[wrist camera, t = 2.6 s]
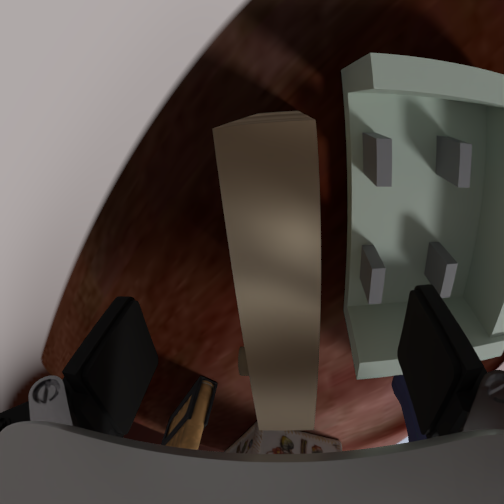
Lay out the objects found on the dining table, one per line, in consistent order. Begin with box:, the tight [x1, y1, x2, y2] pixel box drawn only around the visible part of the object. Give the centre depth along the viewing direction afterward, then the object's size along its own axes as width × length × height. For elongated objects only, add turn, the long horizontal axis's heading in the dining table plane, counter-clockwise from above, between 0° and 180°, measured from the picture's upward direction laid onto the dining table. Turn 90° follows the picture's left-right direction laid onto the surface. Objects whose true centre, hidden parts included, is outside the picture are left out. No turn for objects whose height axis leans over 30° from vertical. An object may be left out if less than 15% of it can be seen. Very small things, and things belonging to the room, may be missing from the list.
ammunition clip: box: [161, 376, 218, 450], centre depth 26 cm, size 11×2×12 cm, turn 152°
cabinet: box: [341, 53, 504, 379], centre depth 16 cm, size 17×11×7 cm, turn 6°
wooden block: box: [212, 111, 321, 431], centre depth 15 cm, size 12×3×12 cm, turn 6°
